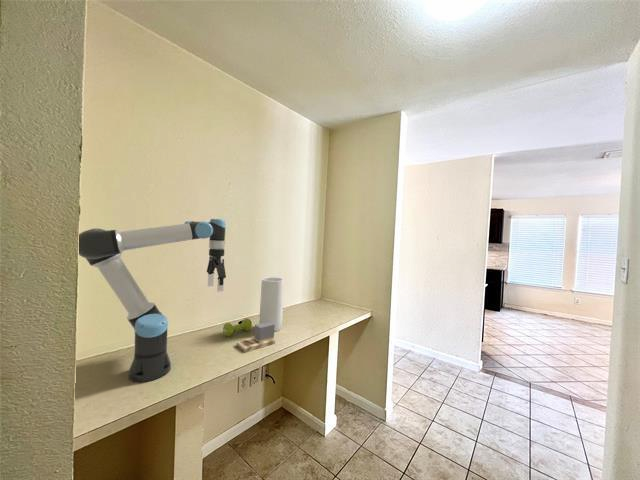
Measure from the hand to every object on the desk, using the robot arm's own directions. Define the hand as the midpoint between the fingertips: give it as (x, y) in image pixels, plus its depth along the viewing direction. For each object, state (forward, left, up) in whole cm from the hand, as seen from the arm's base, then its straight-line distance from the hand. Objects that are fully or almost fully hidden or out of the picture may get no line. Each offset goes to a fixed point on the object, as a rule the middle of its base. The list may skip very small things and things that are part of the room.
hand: (215, 288), depth 139 cm
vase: (+38, +4, -31) cm, 49 cm away
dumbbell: (+18, +9, -31) cm, 37 cm away
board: (+19, -12, -31) cm, 38 cm away
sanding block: (+24, -12, -29) cm, 39 cm away
